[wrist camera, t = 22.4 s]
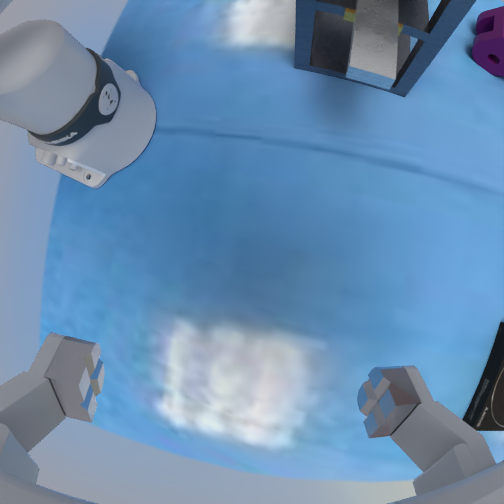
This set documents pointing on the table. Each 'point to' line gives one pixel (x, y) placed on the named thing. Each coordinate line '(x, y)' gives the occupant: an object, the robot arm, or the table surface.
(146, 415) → the table surface
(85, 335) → the table surface
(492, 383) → the portable cd player
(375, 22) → the strip
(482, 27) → the mounting bracket
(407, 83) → the rack
